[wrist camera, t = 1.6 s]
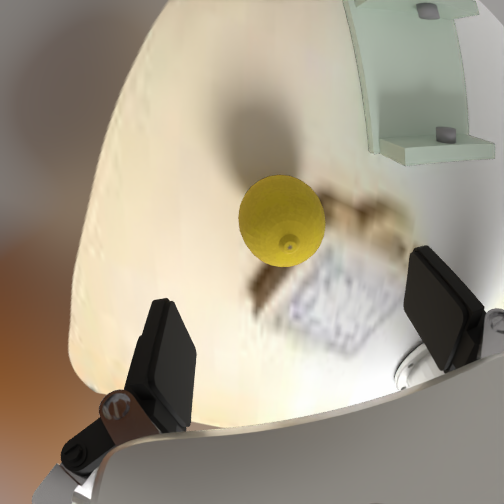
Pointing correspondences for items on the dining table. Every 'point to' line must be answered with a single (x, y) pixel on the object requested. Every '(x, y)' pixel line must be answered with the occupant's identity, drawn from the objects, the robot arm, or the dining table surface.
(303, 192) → the lemon
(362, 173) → the dining table surface
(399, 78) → the holder
